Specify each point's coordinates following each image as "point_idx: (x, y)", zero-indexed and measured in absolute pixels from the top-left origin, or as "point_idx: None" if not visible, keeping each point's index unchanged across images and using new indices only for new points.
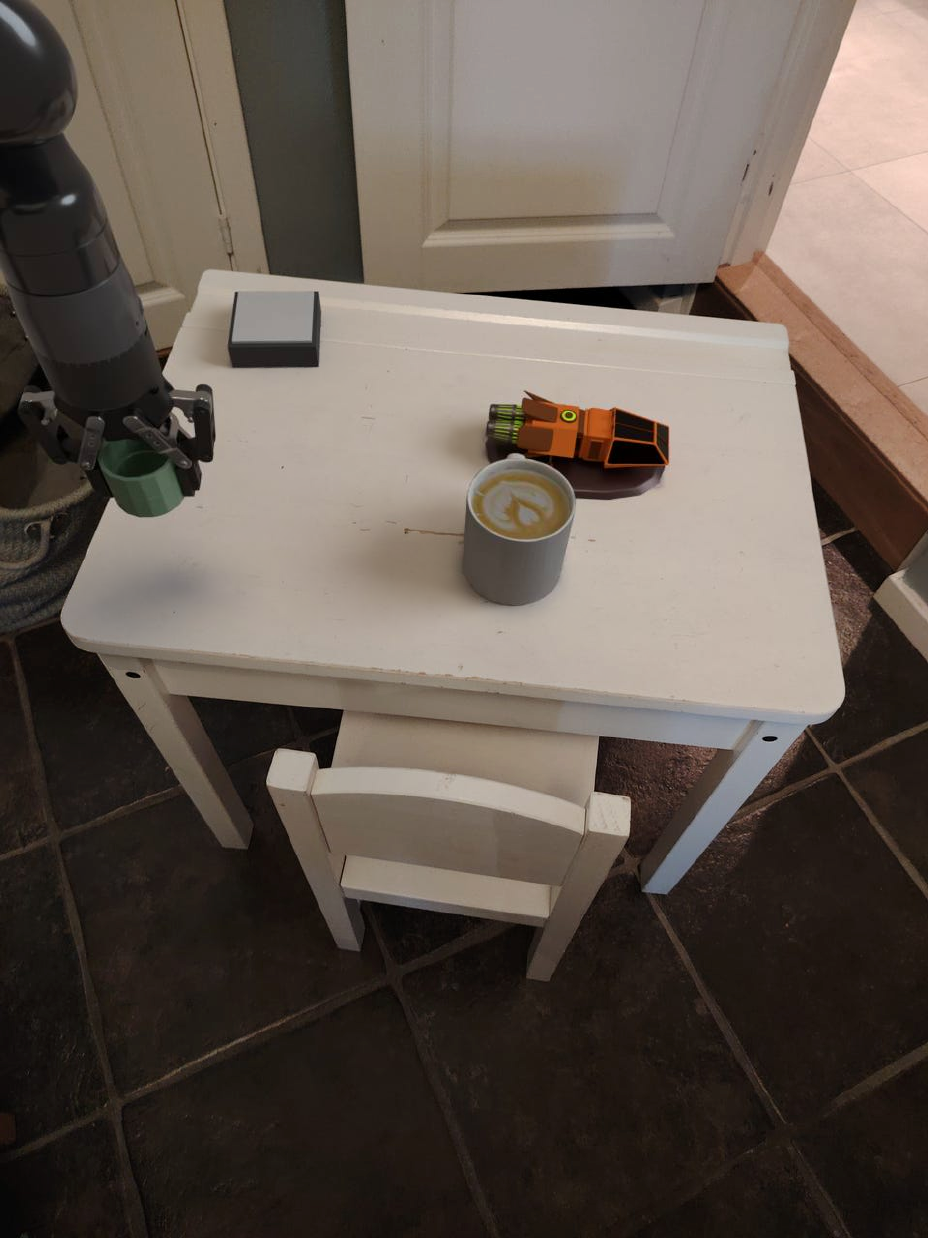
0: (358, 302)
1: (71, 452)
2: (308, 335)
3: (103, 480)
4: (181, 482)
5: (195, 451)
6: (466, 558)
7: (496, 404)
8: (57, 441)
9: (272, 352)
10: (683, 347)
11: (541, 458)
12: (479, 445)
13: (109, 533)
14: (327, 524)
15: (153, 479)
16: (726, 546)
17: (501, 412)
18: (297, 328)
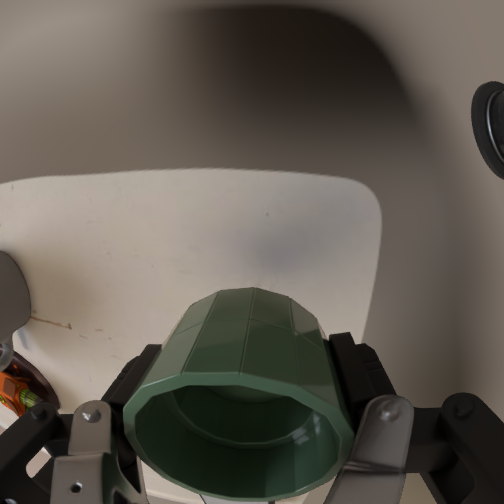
0: (190, 501)
1: (430, 440)
2: (203, 495)
3: (343, 371)
4: (144, 371)
5: (61, 434)
6: (6, 286)
7: None
8: (473, 469)
9: None
10: None
11: (23, 377)
12: (60, 397)
13: (363, 318)
14: (132, 338)
15: (152, 375)
16: None
17: None
18: (214, 499)
